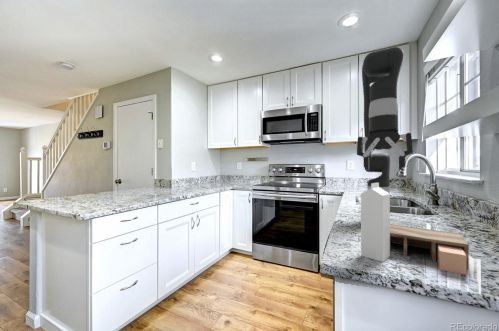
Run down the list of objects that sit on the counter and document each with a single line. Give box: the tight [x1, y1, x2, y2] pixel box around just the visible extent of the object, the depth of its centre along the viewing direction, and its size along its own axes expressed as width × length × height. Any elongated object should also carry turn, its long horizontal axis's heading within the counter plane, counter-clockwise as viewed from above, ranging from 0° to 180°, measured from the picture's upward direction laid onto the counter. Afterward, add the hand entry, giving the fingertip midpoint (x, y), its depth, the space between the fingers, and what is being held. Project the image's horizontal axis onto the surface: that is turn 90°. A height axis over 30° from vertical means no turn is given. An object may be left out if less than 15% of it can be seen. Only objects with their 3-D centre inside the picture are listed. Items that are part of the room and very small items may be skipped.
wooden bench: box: [390, 223, 470, 269], centre depth 68 cm, size 12×21×6 cm, turn 54°
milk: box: [360, 183, 391, 263], centre depth 65 cm, size 6×6×22 cm
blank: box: [436, 243, 468, 276], centre depth 59 cm, size 10×5×5 cm, turn 143°
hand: (383, 169), depth 66 cm, fingers open, 8 cm apart
